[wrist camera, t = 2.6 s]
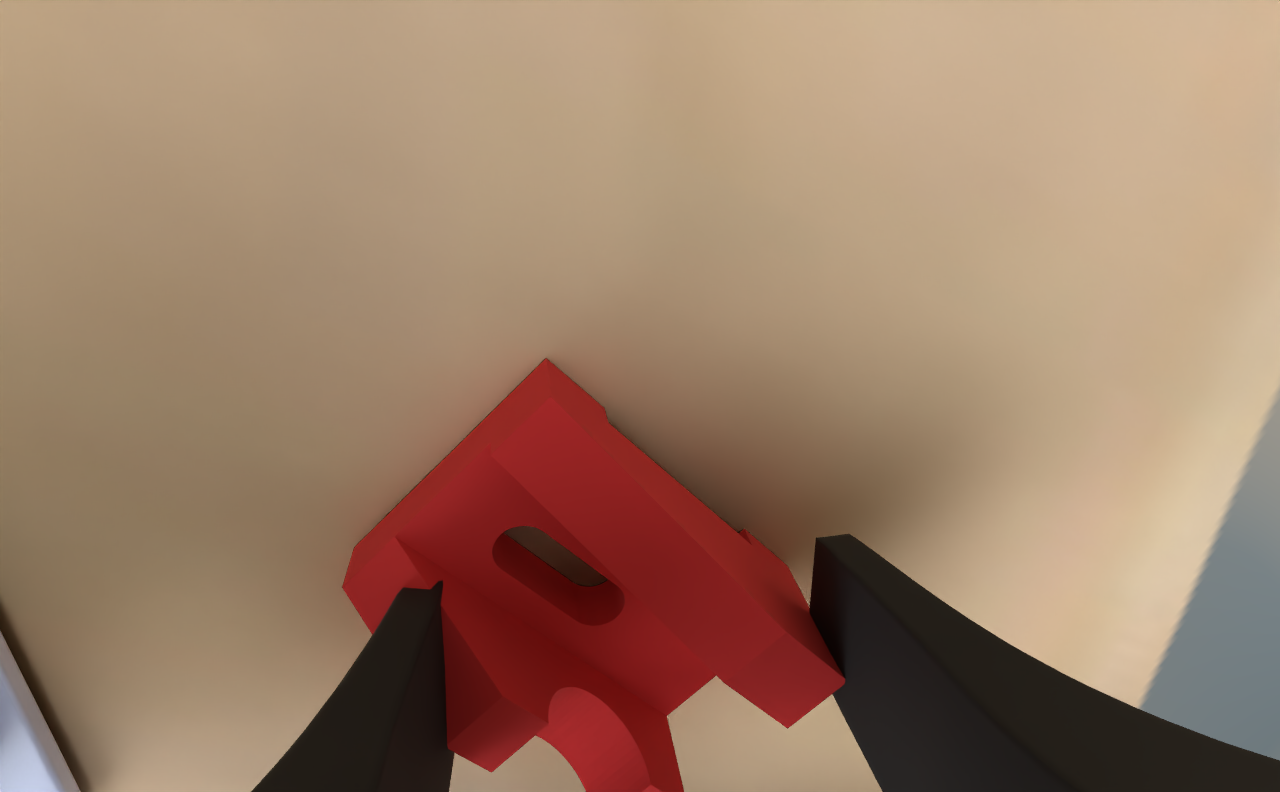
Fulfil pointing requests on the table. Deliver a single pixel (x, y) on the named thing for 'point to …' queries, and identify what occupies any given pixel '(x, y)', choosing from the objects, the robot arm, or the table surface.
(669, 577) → the bracket
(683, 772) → the table surface
